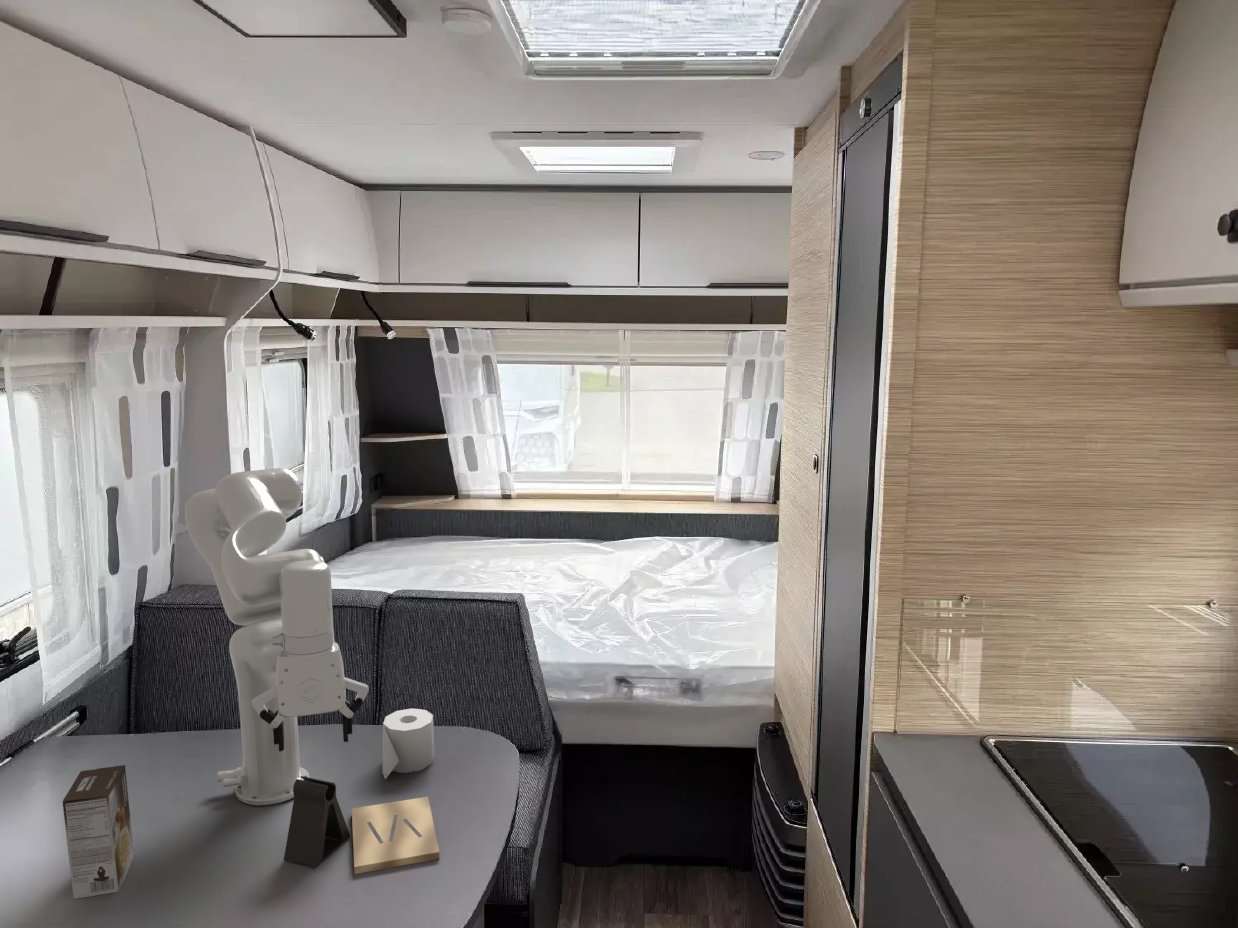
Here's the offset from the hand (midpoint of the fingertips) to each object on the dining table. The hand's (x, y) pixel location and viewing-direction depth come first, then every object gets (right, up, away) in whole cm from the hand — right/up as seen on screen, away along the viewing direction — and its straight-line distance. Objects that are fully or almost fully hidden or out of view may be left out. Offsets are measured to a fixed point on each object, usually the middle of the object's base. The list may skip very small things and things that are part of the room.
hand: (314, 742), depth 138 cm
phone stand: (0, -18, +3) cm, 19 cm away
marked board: (+11, -18, +7) cm, 22 cm away
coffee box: (-30, -19, -5) cm, 37 cm away
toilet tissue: (+7, -14, +30) cm, 34 cm away
